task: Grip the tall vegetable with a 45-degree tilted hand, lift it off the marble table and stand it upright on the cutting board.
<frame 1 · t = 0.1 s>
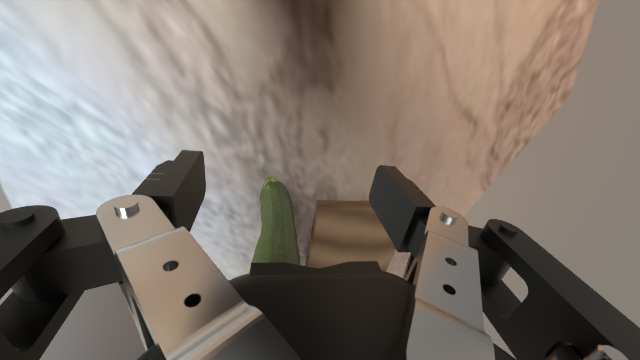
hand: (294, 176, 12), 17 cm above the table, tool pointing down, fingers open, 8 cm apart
vegetable: (274, 186, 33), on the table
cutting board: (354, 236, 40), on the table
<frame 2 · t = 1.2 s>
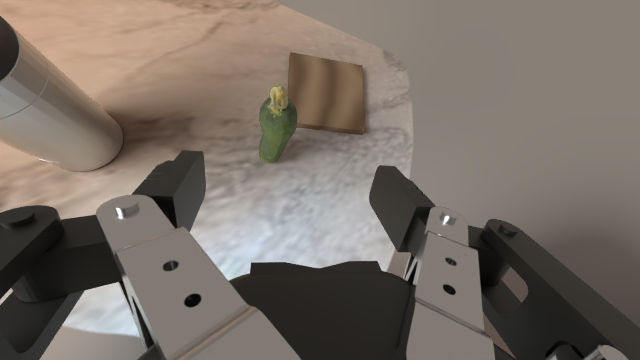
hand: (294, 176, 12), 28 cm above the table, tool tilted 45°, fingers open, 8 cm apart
vegetable: (272, 157, 42), on the table
cutting board: (325, 96, 47), on the table
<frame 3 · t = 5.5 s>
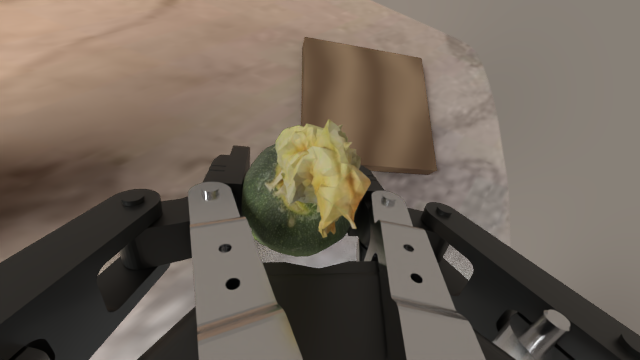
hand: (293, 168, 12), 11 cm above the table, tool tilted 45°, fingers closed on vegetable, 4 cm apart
vegetable: (276, 228, 23), on the table, touching gripper
cutting board: (364, 110, 28), on the table
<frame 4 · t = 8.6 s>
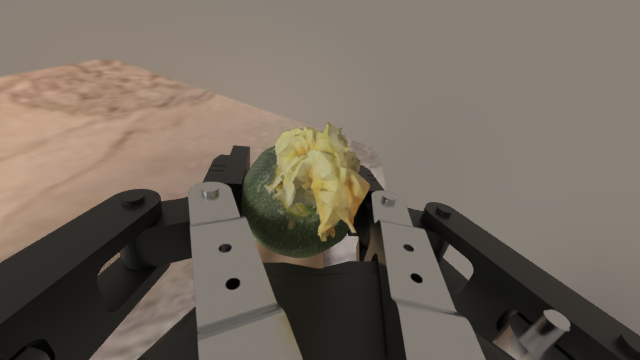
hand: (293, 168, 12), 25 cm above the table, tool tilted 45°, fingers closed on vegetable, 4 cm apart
vegetable: (276, 229, 23), point 14 cm above the table, touching gripper
cutting board: (272, 219, 36), on the table
when the fingers open (14 cm above the table, at t = 11.8 s): vegetable drops 1 cm, resting on cutting board.
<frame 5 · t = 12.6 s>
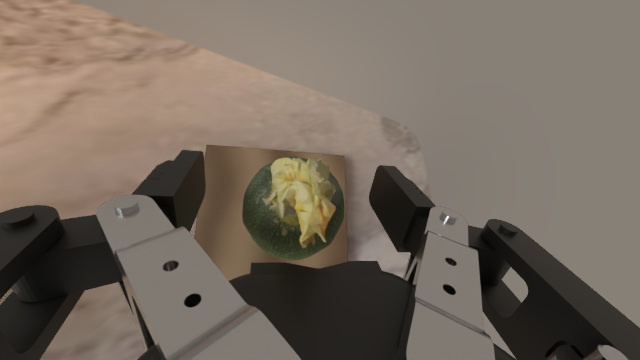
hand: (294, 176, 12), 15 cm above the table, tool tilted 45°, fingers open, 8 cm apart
vegetable: (275, 232, 24), point 1 cm above the table, touching cutting board
cutting board: (275, 220, 25), on the table
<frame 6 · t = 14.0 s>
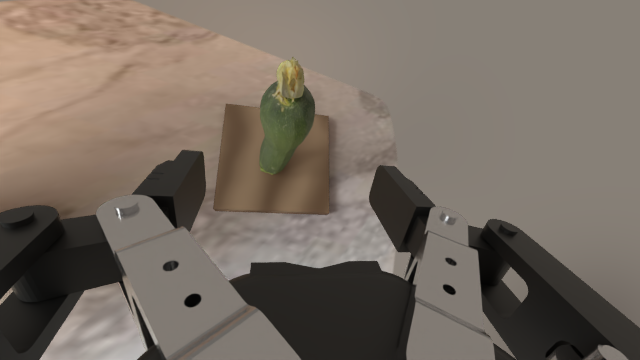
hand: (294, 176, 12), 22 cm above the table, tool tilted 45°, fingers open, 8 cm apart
vegetable: (275, 167, 33), point 1 cm above the table, touching cutting board
cutting board: (276, 161, 34), on the table
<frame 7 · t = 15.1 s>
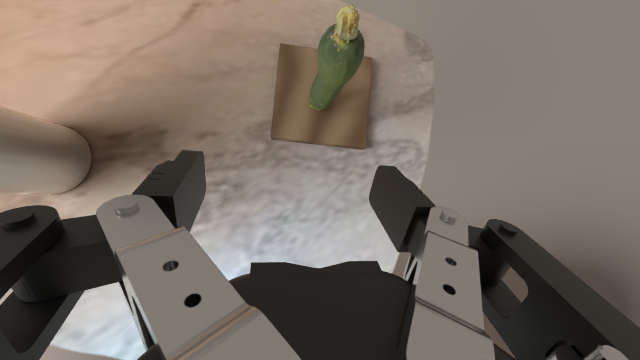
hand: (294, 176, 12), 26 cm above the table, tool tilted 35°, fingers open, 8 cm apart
vegetable: (322, 104, 37), point 1 cm above the table, touching cutting board
cutting board: (322, 99, 39), on the table
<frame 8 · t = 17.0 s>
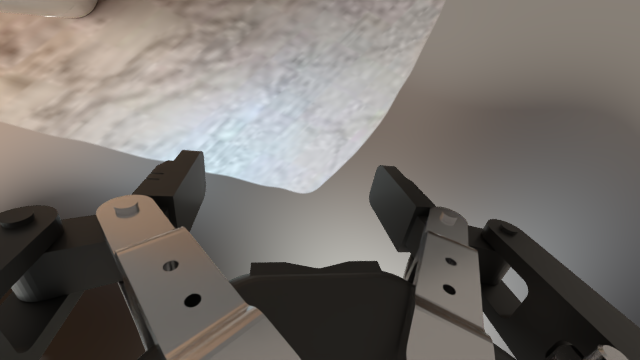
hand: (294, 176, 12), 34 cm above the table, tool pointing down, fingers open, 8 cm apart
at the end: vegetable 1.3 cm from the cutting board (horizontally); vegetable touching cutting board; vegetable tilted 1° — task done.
